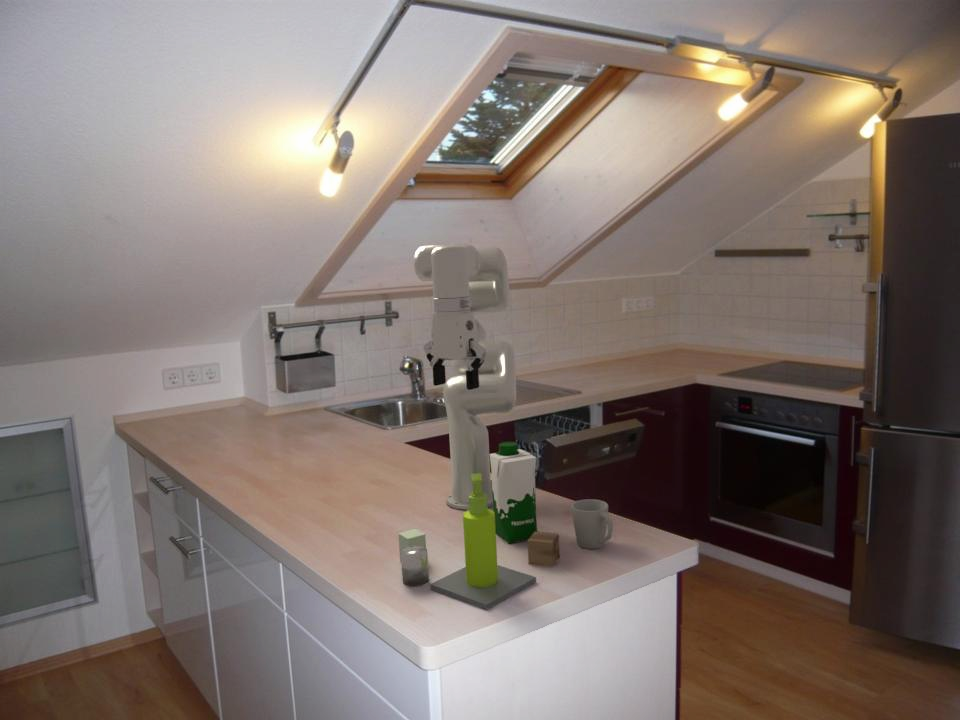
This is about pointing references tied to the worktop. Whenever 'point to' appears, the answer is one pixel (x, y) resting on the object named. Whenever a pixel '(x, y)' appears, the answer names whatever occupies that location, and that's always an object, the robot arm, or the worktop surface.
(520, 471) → the milk carton
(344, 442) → the worktop surface
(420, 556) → the metal tin
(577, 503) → the cup
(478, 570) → the lime spray bottle
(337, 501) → the worktop surface
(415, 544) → the pale green box
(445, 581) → the plate
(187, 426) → the worktop surface
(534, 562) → the walnut block
